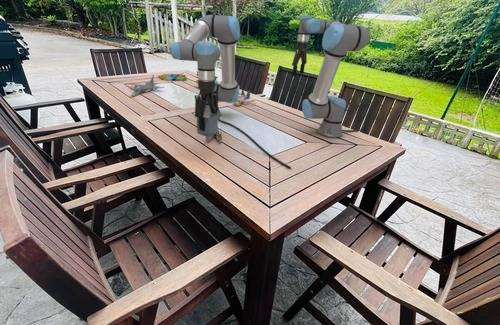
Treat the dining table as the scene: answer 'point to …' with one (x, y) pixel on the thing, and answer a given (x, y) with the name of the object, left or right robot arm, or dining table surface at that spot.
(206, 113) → the block
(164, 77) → the sign
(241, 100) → the toy
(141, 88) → the airplane
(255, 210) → the dining table surface
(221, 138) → the jawbone
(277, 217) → the dining table surface
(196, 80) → the ornament
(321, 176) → the dining table surface
